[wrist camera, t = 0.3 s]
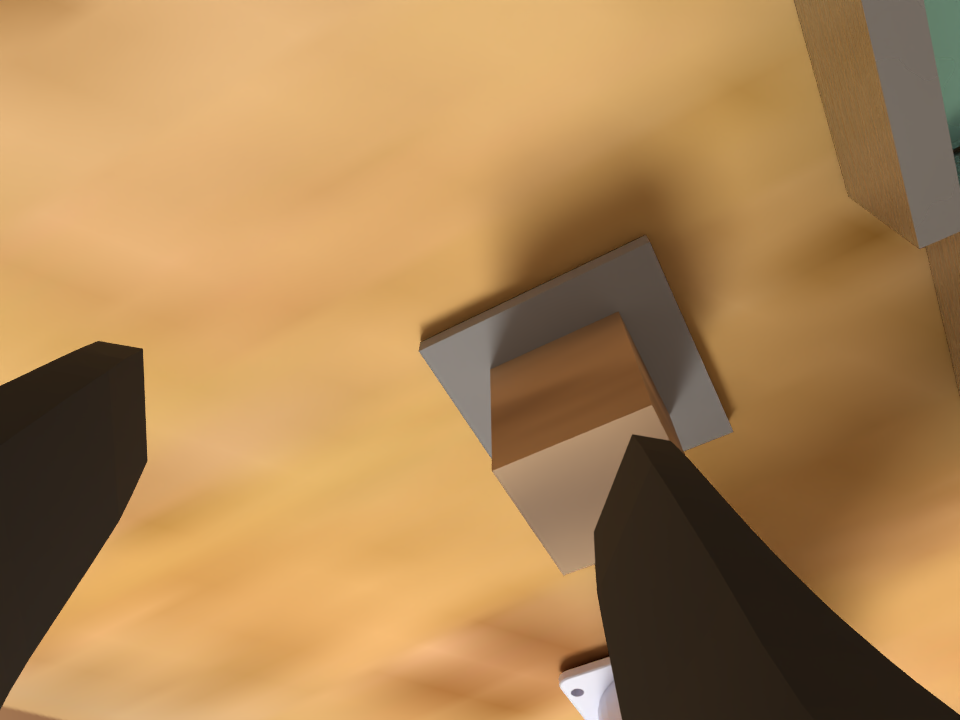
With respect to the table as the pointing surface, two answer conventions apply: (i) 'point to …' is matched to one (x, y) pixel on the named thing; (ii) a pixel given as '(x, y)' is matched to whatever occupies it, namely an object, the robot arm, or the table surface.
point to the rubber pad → (571, 306)
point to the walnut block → (571, 431)
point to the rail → (897, 121)
